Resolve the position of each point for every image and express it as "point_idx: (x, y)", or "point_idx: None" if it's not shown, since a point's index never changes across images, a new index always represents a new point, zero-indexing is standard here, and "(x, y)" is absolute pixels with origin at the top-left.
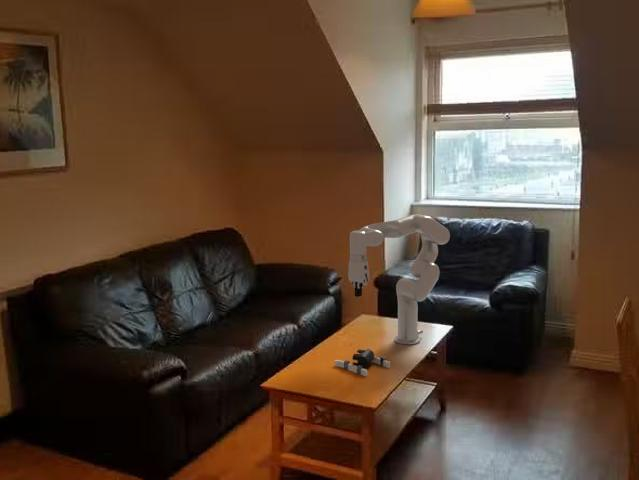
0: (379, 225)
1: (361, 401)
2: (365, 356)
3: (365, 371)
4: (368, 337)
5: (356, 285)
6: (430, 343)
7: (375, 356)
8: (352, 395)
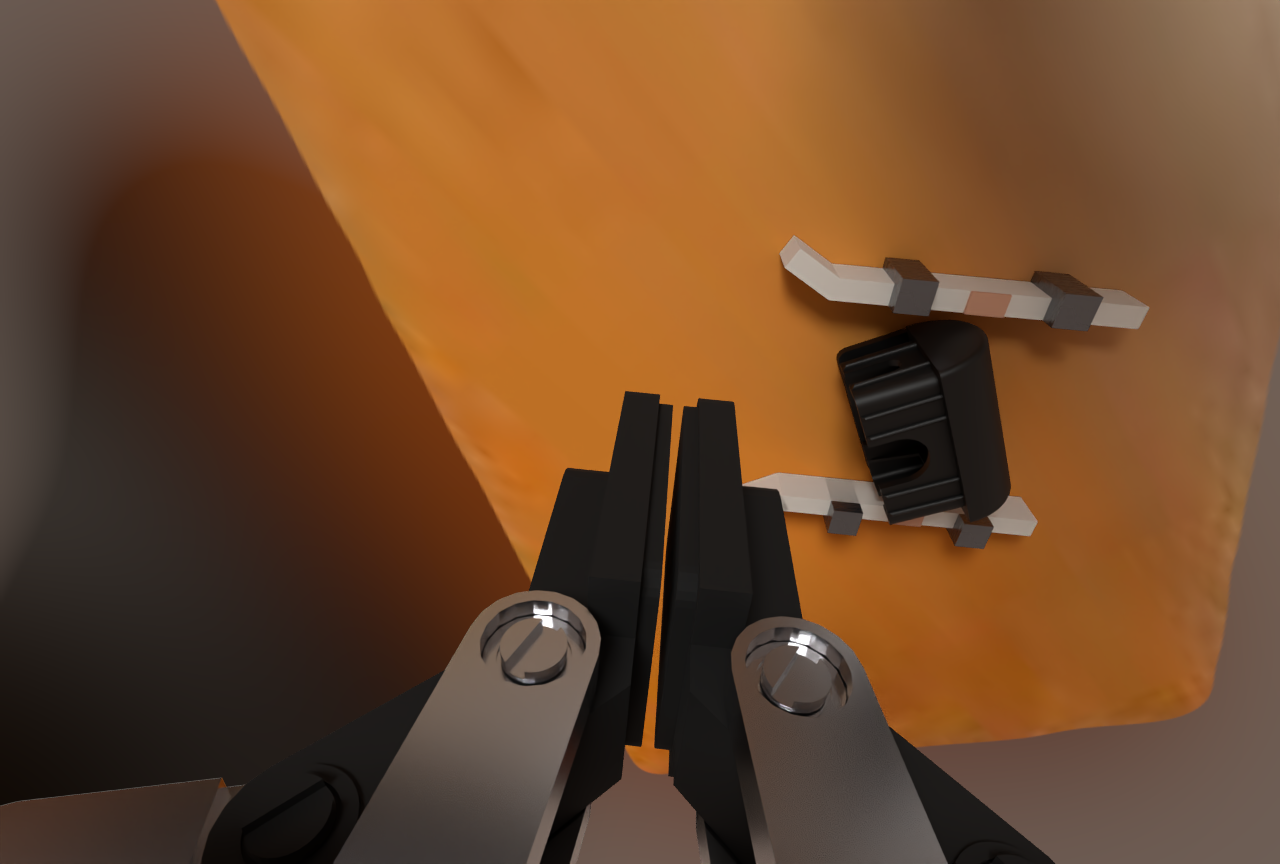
0: None
1: (1127, 712)
2: (996, 494)
3: (1025, 533)
4: None
5: (567, 799)
6: None
7: (975, 295)
8: (1054, 693)
